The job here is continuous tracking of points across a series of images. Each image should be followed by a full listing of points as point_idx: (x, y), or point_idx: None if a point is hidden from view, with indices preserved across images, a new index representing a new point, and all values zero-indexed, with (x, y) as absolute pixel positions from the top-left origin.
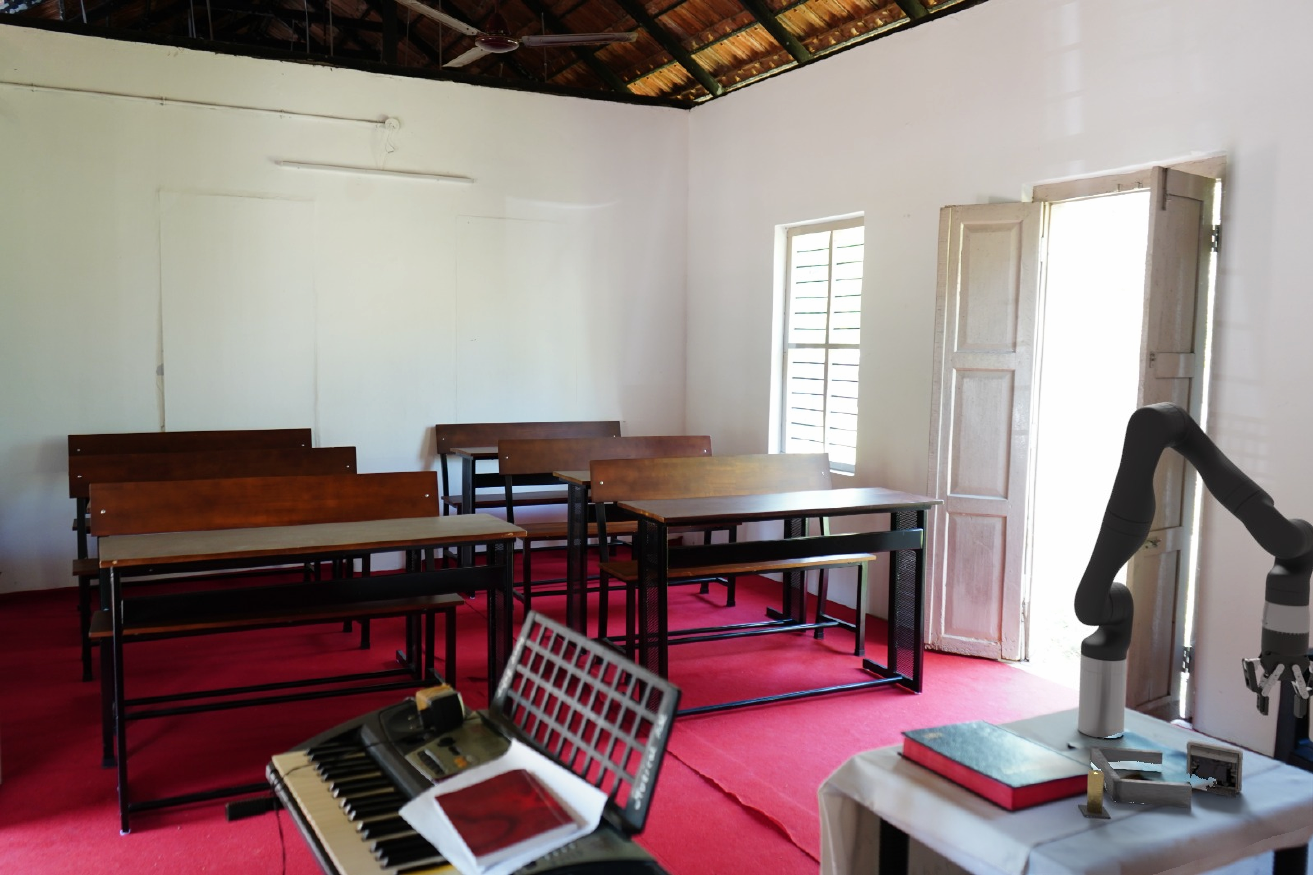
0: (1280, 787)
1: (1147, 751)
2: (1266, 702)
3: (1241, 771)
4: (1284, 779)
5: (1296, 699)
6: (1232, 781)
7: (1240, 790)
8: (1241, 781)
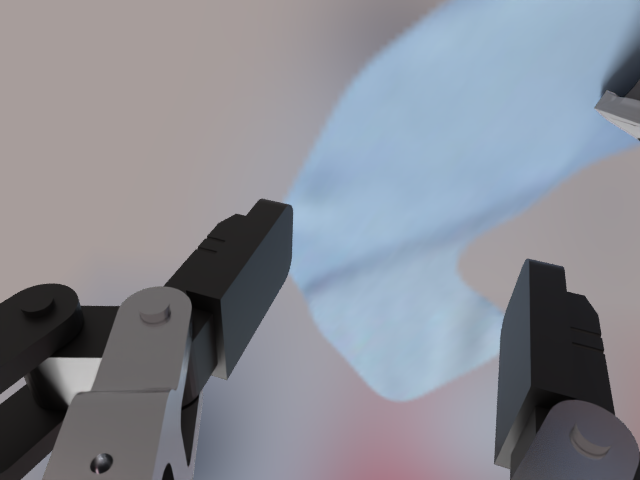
0: (397, 141)
1: None
2: (555, 344)
3: (637, 111)
4: (345, 201)
5: (237, 330)
6: (628, 132)
7: (608, 92)
8: (613, 105)
